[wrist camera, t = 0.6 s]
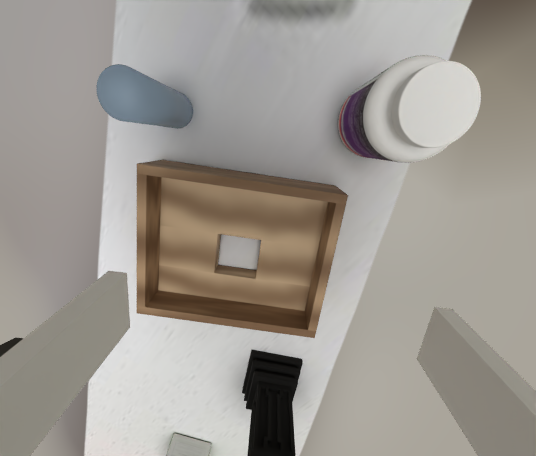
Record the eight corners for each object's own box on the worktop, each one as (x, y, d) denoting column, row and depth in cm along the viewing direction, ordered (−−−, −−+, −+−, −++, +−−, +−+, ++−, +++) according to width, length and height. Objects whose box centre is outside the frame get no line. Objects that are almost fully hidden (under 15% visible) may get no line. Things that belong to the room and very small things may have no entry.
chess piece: (302, 359, 43) (322, 531, 24) (290, 397, 46) (300, 582, 26) (251, 349, 43) (232, 516, 24) (242, 388, 45) (218, 568, 26)
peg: (159, 89, 32) (95, 60, 21) (193, 94, 32) (148, 68, 21) (158, 125, 33) (97, 117, 22) (191, 130, 34) (147, 124, 22)
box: (161, 159, 35) (136, 163, 28) (335, 185, 35) (347, 195, 29) (158, 286, 40) (136, 313, 34) (308, 307, 40) (314, 337, 34)
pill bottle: (365, 170, 34) (425, 190, 21) (322, 122, 33) (355, 109, 19) (419, 120, 33) (525, 105, 19) (375, 67, 31) (455, 8, 17)
